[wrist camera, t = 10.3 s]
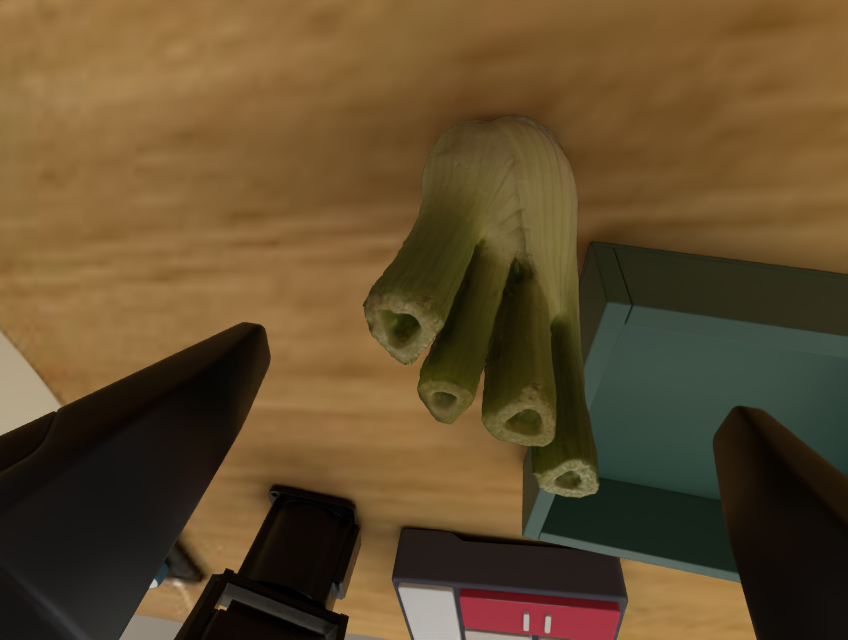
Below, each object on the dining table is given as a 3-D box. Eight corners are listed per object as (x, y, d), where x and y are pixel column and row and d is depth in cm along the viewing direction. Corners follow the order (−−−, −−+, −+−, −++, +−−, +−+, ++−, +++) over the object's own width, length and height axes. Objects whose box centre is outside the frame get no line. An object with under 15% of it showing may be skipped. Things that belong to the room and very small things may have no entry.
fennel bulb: (581, 237, 18) (642, 522, 8) (461, 261, 19) (397, 522, 10) (559, 80, 15) (616, 238, 5) (420, 123, 16) (269, 304, 7)
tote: (522, 465, 26) (521, 537, 23) (591, 240, 18) (607, 301, 14) (809, 520, 25) (856, 608, 21) (1043, 299, 16) (1189, 386, 12)
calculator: (611, 680, 33) (410, 656, 35) (600, 614, 36) (418, 597, 39) (632, 613, 27) (387, 590, 29) (617, 542, 30) (399, 527, 33)
